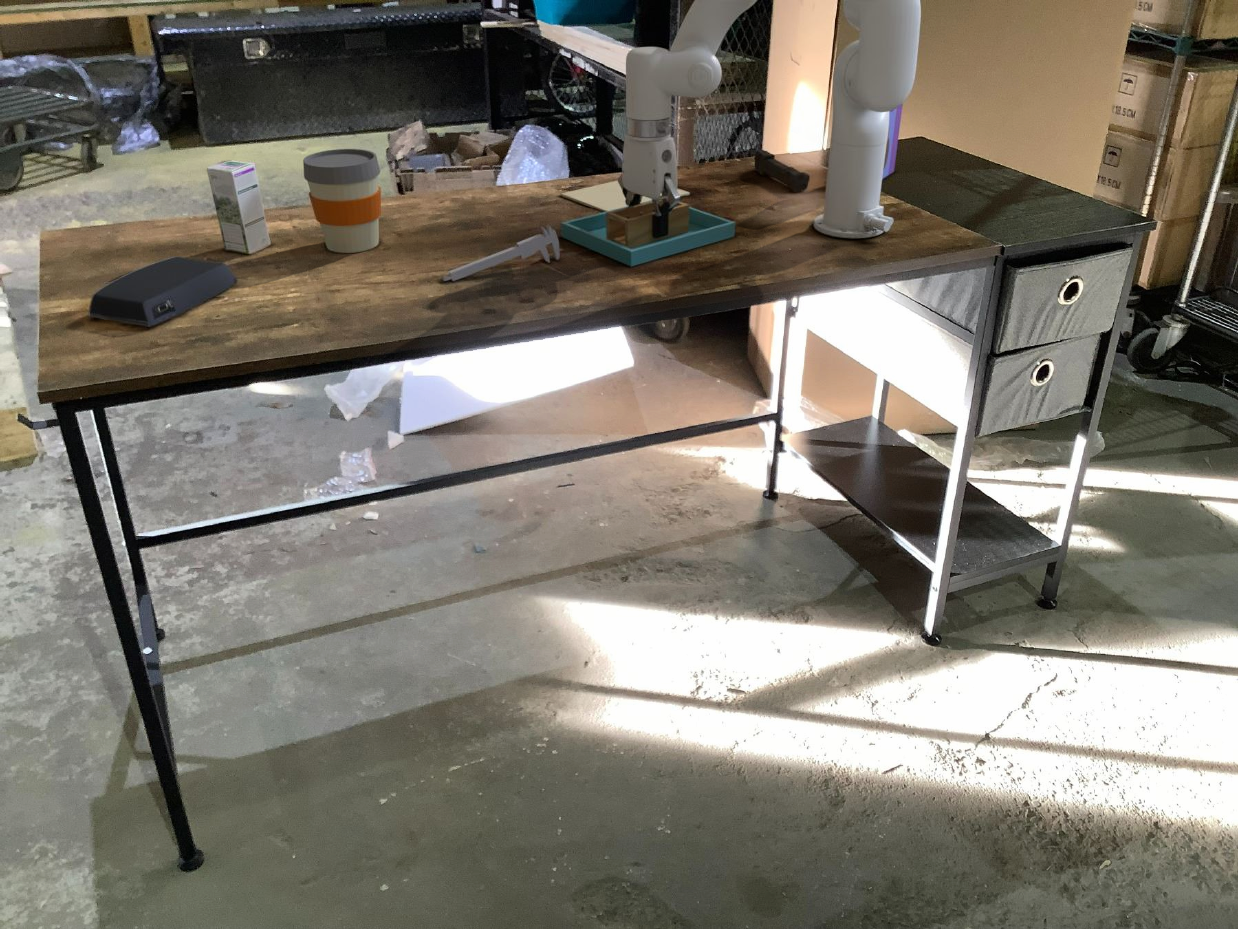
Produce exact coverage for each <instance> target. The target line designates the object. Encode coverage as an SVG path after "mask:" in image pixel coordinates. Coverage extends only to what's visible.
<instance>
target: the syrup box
mask: <svg viewBox="0 0 1238 929" xmlns="http://www.w3.org/2000/svg"><path fill="white" fill-rule="evenodd" d="M206 172H207V176H208V181H209V186H210V189H211V195H212V199H213V203H214V208H215V212H216V216H217V221H218V226H219V230H220V233H221V238H222V243H223V247H224V251H229V252H234V253H240V254H246V255H251V254H254V253H257V252H259V251H261V250H263V249H265V248H268V247H270V246H271V245H272V244H271V238H270V235H269V234H270V233H269V228H268V224H267V220H266V213H265V209H264V205H263V199H262V195H261V189H260V184H259V179H258V174H257V169H256V165H255V163H254V162H249V161H248V162H247V161H240V160H239V161H238V160H232V159H226V160H222V161H220V162H217V163H214V164H212V165H210V166H207V167H206Z"/></svg>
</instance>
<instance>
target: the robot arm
mask: <svg viewBox="0 0 1238 929" xmlns="http://www.w3.org/2000/svg"><path fill="white" fill-rule="evenodd" d="M756 2H758V0H694V1H693V2H692V3H691V6H690V7H689V9H688V12H687V13H686V15H685V17H684V19H683V21H682V22H681V25H680V27H679V29H678V30H677V31H678V32H677V33H676V35H675V37H674V40H673V42H672V44H671V47H670V48H669V50H668V49H666V48H663V47H659V46H641V47H634V48H632V49H630V50H629V51H628V52H627V54H626V56H625V135H624V141H623V148H622V160H621V161H622V163H621V174H620V175H619V177H618V178H617V181H618V183H619V185H620V187H621V189H622V192H623V194H624V196H625V198H626V200H625V203H626V205H627V206H628V207H630V206H634V205H638V204H642V203H640V202H641V200H642V197H643V196H645V197H648V198H651V199H652V203H653V207H654V211H655V215H653V230H652V236H653V238H655V239H656V238H660V237H663V236H667V235H668V224H669V214H670V213H671V210H672V209H673V208H674V207H675V205H676V204H677V203H678V202H681V197H680V196H679V194H678V192H677V189H678V185H679V184H678V161H677V160H678V159H677V151H676V144H675V140H674V137H672V135H671V134H672V130H673V128H672V96H674V97H675V96H676V97H684V98H690V99H701V98H705V97H707V96H709V95H711V94H713V93H714V92H715V91H716V90H717V88H718V87H719V86H720V84H721V81H722V75H723V72H722V66H721V64H720V61H719V59H718V57H717V56H716V53H717V51H718V50H719V47H720V46H721V44H722V42H723V40H724V38H725V36H726V34H727V32H728V31H729V30H730V28H731V26H732V25H733V24H734V22H735V21H736V20H737V19H738V18H739V17H740V16H741V15H742V14H743V13H744V12H745V11H747V10H749V9H750V8H751V7H752V6H753V5H755V4H756ZM842 10H843V14H844V18H845V19H846V21H847V23H848V24H849V25H850V26H851V27H852V28H854V29H856V30H857V31H859V32H858V39H856V40H855V41H852V42H851V43H849V44H848V45H846V46H845V47H844V48H843V49H842V50H841V52H840V53H839V55H838V57H837V58H836V61H835V63H834V67H833V72H832V121H831V122H832V123H831V133H830V140H829V141H830V143H829V150H828V151H829V153H828V162H827V163H828V164H827V173H826V182H825V183H826V184H825V194H824V204H823V213H822V214H819V215H817V216H816V217H815V218H814V220H813V227H814V229H815V230H816V231H818V232H819V233H820V234H824V235H825V236H830V237H834V238H840V239H841V238H842V239H867V238H873V237H877V236H879V235H881V234H883V233H887V232H888V231H890V229H891V227H892V225H893V224H894V221H895V220H894V217H890V216H887V215H884V209H885V206H884V205H880V200H881V191H882V184H883V180H882V176H883V168H884V160H885V152H886V144H887V138H888V129H889V111H891V110H894V109H896V108H897V107H899V106H900V105H901V104H902V103H903V104H904V102H905V101H906V100H907V99H908V97H909V95H910V94H911V92H912V89H913V86H914V83H915V79H916V72H917V63H918V53H919V43H920V42H919V41H920V32H921V31H920V30H921V19H922V17H921V16H922V7H921V0H842ZM660 194H662V196H660ZM659 200H662V201H663V204H662V206H661V207H660V203H659Z"/></svg>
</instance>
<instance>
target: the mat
mask: <svg viewBox="0 0 1238 929" xmlns="http://www.w3.org/2000/svg"><path fill="white" fill-rule="evenodd" d="M677 192H678V194H679V196H680V198H681V197H684V196H690V194H691V193H690V192H689V191H686V190H684V189H681V188H677ZM560 196H561V197H563V198H565V199H568V200H570V201H573V202H576V203H578V204H582V205H584V206H587V207H589V208H594V209H595V210H598V211H602V212H607V211H611V210H615V209H619V208H623V207H627V205H626V203H625V200H626V198H625V196H624V194H623V192H622V189H621V187H620V185H619V183H618V180H613V181H609V182H605V183H601V184H596V185H592V186H587V187H584V188H579V189H576V190H570V191H566V192H561V193H560ZM660 196H662V194H660ZM651 200H652V199H651V198H648V197H645V196H643V197H642V200H641V202H640V203H643V202H647V201H651Z"/></svg>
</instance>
